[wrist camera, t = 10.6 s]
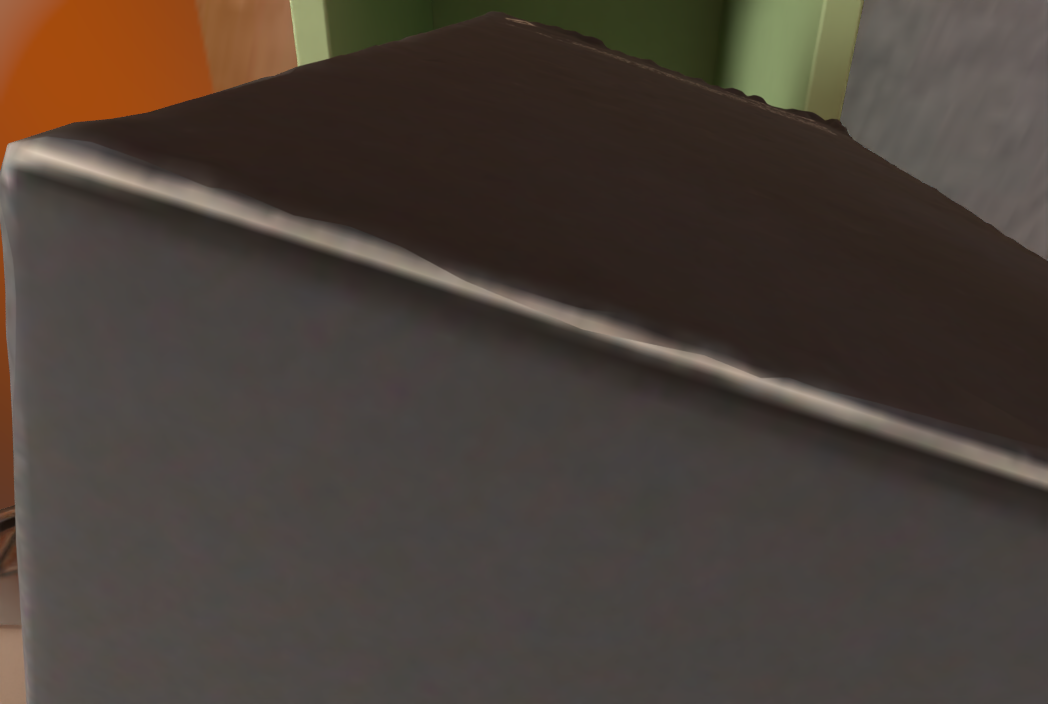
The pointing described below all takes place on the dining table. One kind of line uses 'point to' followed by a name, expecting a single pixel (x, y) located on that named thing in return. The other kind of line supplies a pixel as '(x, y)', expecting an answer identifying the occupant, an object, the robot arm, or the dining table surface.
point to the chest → (637, 37)
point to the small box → (516, 397)
